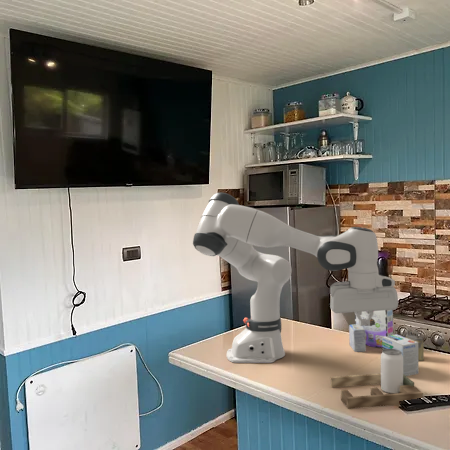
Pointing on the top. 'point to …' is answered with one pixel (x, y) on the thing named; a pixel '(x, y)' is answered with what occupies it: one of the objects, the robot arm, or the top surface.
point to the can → (391, 370)
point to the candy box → (377, 327)
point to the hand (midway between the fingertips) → (364, 325)
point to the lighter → (420, 342)
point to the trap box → (373, 391)
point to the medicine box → (357, 338)
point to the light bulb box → (404, 352)
